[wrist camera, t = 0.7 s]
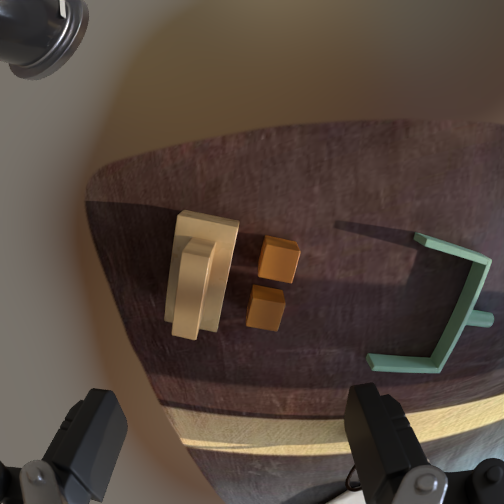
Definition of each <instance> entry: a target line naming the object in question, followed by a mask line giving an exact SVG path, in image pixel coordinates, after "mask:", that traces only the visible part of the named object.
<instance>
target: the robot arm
mask: <svg viewBox="0 0 504 504" xmlns="http://www.w3.org/2000/svg"><path fill="white" fill-rule="evenodd" d="M72 19H73V10H72V7H71V5H70V4H69V3H68V2H67V1H66V0H0V61H3V62H7V63H11V64H15V65H17V66H19V67H22V68H33V67H36V66H38V65H40V64H42V63H43V62H45V61H46V60H47V59H49V58H50V57H51V56H52V55H53V54H54V53H55V52H56V51H57V49H58V48H59V47H60V45H61V44H62V43H63V41H64V40H65V38H66V36H67V34H68V32H69V30H70V27H71V24H72ZM344 425H345V431H346V435H347V438H348V442H349V445H350V449H351V452H352V456H353V459H354V463H355V466H356V470H357V473H358V477H359V481H360V484H361V488H362V492H363V495H364V499H365V503H366V504H504V461H502V460H500V459H497V458H489V459H486V460H483V461H482V462H480V463H479V464H478V465H477V466H476V468H475V469H474V470H468V471H460V472H443V471H442V470H441V469H439V468H438V467H436V466H432V465H431V464H430V463H429V462H428V460H427V458H426V456H425V454H424V452H423V450H422V448H421V446H420V443H419V441H418V439H417V437H416V435H415V433H414V431H413V429H412V427H410V423H409V421H408V419H407V417H405V413H404V411H403V409H402V407H401V405H400V403H399V402H397V401H396V400H395V399H394V398H393V397H391V396H390V395H389V394H387V395H383V396H380V394H379V392H378V390H377V388H376V386H375V384H374V383H373V382H371V383H366V384H360V385H354V386H351V387H350V389H349V394H348V399H347V405H346V410H345V415H344ZM127 427H128V425H127V420H126V417H125V415H124V413H123V411H122V409H121V407H120V405H119V402H118V400H117V398H116V396H115V394H114V393H113V391H111V390H102V389H95V388H93V389H91V390H90V391H89V393H88V394H87V396H86V398H85V399H84V400H80V401H79V402H78V403H77V404H75V405H74V406H73V407H72V408H71V409H70V410H69V412H68V414H67V416H66V417H65V421H63V422H62V424H61V426H60V429H59V430H58V432H57V433H56V435H55V437H54V439H53V440H52V442H51V444H50V446H49V447H48V449H47V451H46V453H45V455H44V457H43V458H42V460H33V461H30V462H28V463H27V464H25V465H24V467H23V468H15V467H5V466H4V464H3V463H2V462H1V461H0V504H1V503H3V504H89V502H90V500H95V501H98V502H102V501H103V498H104V495H105V492H106V489H107V486H108V484H109V481H110V478H111V475H112V472H113V470H114V467H115V464H116V461H117V458H118V456H119V453H120V450H121V447H122V445H123V442H124V440H125V437H126V434H127Z"/></svg>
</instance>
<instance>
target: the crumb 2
mask: <svg viewBox="0 0 504 504" xmlns="http://www.w3.org/2000/svg"><path fill="white" fill-rule="evenodd" d="M285 305H286V304H285V299H284V294H283V290H280V289H275V288H269V287H264V286H259V285H254V284H253V285H252V289H251V293H250V297H249V301H248V306H247V310H246V326H249V327H254V328H260V329H266V330H271V331H278V328H279V324H280V321H281V318H282V315H283V311H284V308H285Z"/></svg>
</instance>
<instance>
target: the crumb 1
mask: <svg viewBox="0 0 504 504" xmlns="http://www.w3.org/2000/svg"><path fill="white" fill-rule="evenodd" d="M300 253H301V251H300V249H299V247H298V245H297V243H296V242H295V241H290V240H285V239H281V238H276V237H272V236H267V235H265V236H264V240H263V244H262V248H261V252H260V257H259V261H258V277H262V278H267V279H272V280H277V281H282V282H287V283H292V281H293V277H294V274H295V270H296V267H297V263H298V260H299V256H300Z"/></svg>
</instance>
